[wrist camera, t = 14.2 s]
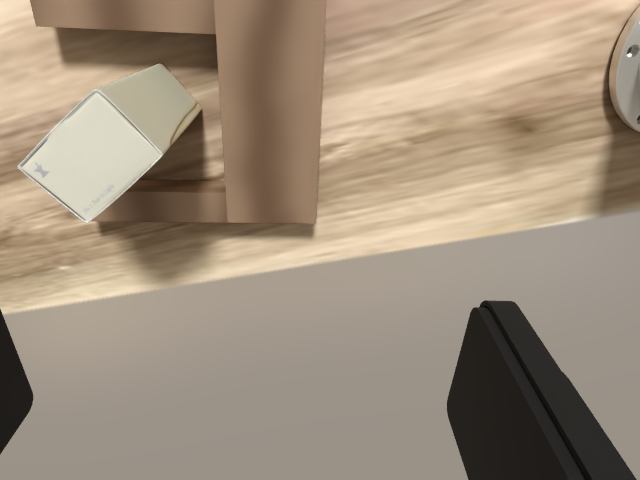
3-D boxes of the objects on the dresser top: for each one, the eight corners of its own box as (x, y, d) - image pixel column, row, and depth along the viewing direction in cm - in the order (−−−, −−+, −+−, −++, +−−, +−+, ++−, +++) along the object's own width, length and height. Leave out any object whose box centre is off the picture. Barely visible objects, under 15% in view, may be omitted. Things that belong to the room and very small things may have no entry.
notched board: (323, -5, 30) (326, -5, 28) (314, 210, 37) (316, 223, 35) (45, -19, 28) (24, -21, 26) (95, 207, 36) (82, 221, 34)
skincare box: (148, 158, 34) (86, 229, 24) (101, 113, 32) (11, 169, 22) (205, 106, 33) (167, 158, 22) (160, 56, 31) (94, 86, 20)
